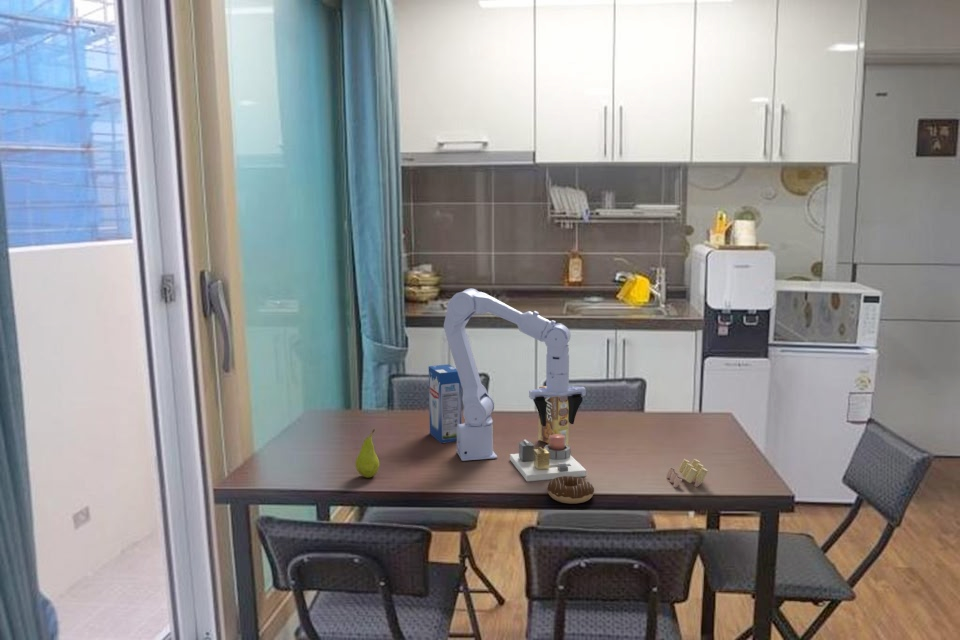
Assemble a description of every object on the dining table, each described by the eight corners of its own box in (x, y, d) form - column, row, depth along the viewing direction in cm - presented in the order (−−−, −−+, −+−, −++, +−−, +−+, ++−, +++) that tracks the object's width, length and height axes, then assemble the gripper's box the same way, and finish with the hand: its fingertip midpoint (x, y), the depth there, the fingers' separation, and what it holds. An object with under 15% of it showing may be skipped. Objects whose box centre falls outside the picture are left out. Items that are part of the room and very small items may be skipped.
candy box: (569, 445, 208) (570, 391, 206) (557, 448, 206) (558, 393, 204) (548, 437, 216) (550, 385, 213) (537, 440, 213) (538, 386, 211)
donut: (538, 500, 171) (538, 483, 170) (560, 485, 180) (560, 469, 179) (581, 510, 165) (581, 493, 165) (601, 494, 174) (602, 478, 173)
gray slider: (522, 461, 191) (522, 443, 190) (518, 457, 194) (518, 439, 194) (534, 460, 192) (534, 443, 191) (530, 456, 195) (530, 438, 194)
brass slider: (537, 469, 185) (537, 451, 184) (533, 464, 189) (533, 447, 188) (549, 468, 186) (549, 450, 185) (545, 463, 189) (545, 446, 188)
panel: (526, 481, 182) (526, 466, 181) (510, 459, 197) (510, 446, 197) (586, 476, 185) (586, 461, 185) (564, 455, 201) (565, 441, 200)
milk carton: (461, 440, 214) (460, 371, 211) (440, 443, 212) (439, 373, 209) (449, 430, 223) (448, 364, 220) (429, 433, 221) (428, 366, 218)
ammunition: (699, 458, 184) (666, 458, 183) (709, 469, 176) (674, 469, 176) (698, 476, 184) (665, 477, 184) (708, 488, 177) (674, 489, 177)
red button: (552, 450, 193) (552, 439, 193) (547, 445, 197) (547, 434, 197) (567, 449, 194) (567, 438, 194) (562, 444, 198) (562, 433, 197)
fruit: (351, 476, 186) (349, 429, 184) (370, 470, 190) (368, 424, 189) (365, 482, 182) (363, 434, 180) (384, 476, 186) (383, 429, 184)
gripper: (534, 377, 187) (534, 430, 189) (590, 374, 190) (589, 426, 192) (526, 371, 194) (526, 422, 196) (580, 368, 197) (580, 418, 199)
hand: (557, 424), depth 195 cm, fingers open, 7 cm apart
